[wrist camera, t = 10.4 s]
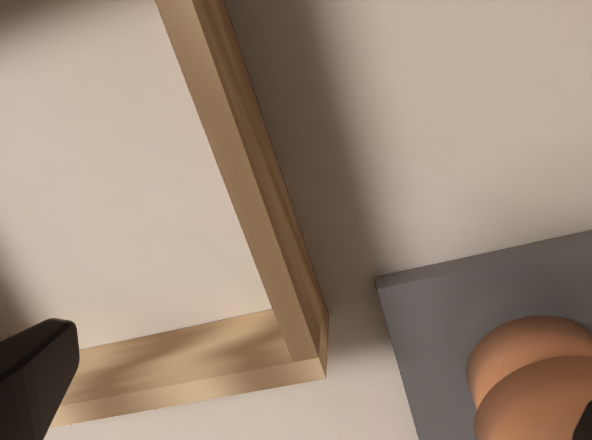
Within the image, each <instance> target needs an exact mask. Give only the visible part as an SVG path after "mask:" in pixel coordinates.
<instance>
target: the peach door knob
mask: <svg viewBox="0 0 592 440" xmlns="http://www.w3.org/2000/svg"><path fill="white" fill-rule="evenodd" d="M466 378H467V383H468V386H469V389H470V392H471V395H472V398H473V401H474V404H475V407H476V410H477V412H476V415H475V420H474V435H475V440H572V436H573V432H574V429H575V427H576V425H577V423H578V421H579V419H580V417H581V415H582V413H583V411H584V409H585V407H586V405H587V404H588V402H589V401H591V400H592V334H591V333H590V332H589V331H588V330H587V329H586V328H584V327H583V326H581V325H579V324H578V323H576V322H573V321H571V320H569V319H565V318H561V317H556V316H547V315H538V316H528V317H522V318H518V319H515V320H512V321H509V322H507V323H504V324H502V325H500V326H498V327H496V328H495V329H493V330H492V331H490V332H489V333H488V334H487V335H485V336H484V337H483V338H482V339H481V340H480V341H479V342H478V343H477V345H476V346H475V347H474V349H473V350H472V352H471V354H470V356H469V359H468V362H467V367H466Z"/></svg>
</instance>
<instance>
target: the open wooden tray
mask: <svg viewBox="0 0 592 440" xmlns="http://www.w3.org/2000/svg"><path fill="white" fill-rule="evenodd" d="M155 2H156V5H157V7H158V10H159V12H160V15H161V18H162V20H163V23H164V26H165V28H166V31H167V33H168V36H169V39H170V41H171V44H172V46H173V49H174V52H175V54H176V57H177V60H178V62H179V65H180V67H181V70H182V73H183V75H184V78H185V81H186V83H187V86H188V88H189V91H190V94H191V96H192V99H193V102H194V104H195V107H196V109H197V112H198V115H199V117H200V120H201V123H202V125H203V128H204V130H205V133H206V136H207V138H208V141H209V144H210V146H211V149H212V151H213V154H214V157H215V159H216V162H217V165H218V167H219V170H220V172H221V175H222V178H223V180H224V183H225V186H226V188H227V191H228V193H229V196H230V199H231V201H232V204H233V207H234V209H235V212H236V214H237V217H238V220H239V222H240V225H241V228H242V230H243V233H244V235H245V238H246V241H247V243H248V246H249V249H250V251H251V254H252V256H253V259H254V262H255V264H256V267H257V270H258V272H259V275H260V277H261V280H262V283H263V285H264V288H265V290H266V293H267V296H268V298H269V301H270V304H271V306H272V310H267V311H262V312H257V313H253V314H248V315H243V316H239V317H234V318H229V319H225V320H220V321H215V322H211V323H206V324H201V325H196V326H192V327H187V328H182V329H178V330H173V331H168V332H164V333H159V334H154V335H150V336H145V337H140V338H135V339H131V340H126V341H121V342H117V343H112V344H107V345H103V346H98V347H93V348H88V349H84V350H79V354H80V361H79V366H78V369H77V371H76V374H75V376H74V378H73V380H72V382H71V384H70V386H69V388H68V390H67V392H66V394H65V396H64V398H63V400H62V402H61V404H60V406H59V408H58V410H57V412H56V414H55V416H54V419H53V421H52V423H51V425H50V427H49V428H51V427H57V426H62V425H68V424H74V423H79V422H85V421H90V420H96V419H102V418H107V417H113V416H118V415H124V414H130V413H135V412H141V411H146V410H152V409H158V408H163V407H169V406H175V405H180V404H186V403H191V402H197V401H203V400H208V399H214V398H219V397H225V396H231V395H236V394H242V393H247V392H253V391H259V390H264V389H270V388H276V387H281V386H287V385H292V384H298V383H304V382H309V381H315V380H320V379H326V368H327V347H328V326H329V316H328V313H327V310H326V307H325V304H324V300H323V297H322V294H321V291H320V288H319V285H318V282H317V279H316V276H315V273H314V270H313V267H312V264H311V261H310V258H309V255H308V252H307V249H306V246H305V243H304V240H303V237H302V234H301V231H300V228H299V225H298V222H297V219H296V216H295V213H294V210H293V207H292V204H291V201H290V198H289V195H288V192H287V189H286V186H285V183H284V180H283V177H282V174H281V171H280V168H279V165H278V162H277V159H276V156H275V153H274V150H273V147H272V144H271V141H270V138H269V135H268V132H267V129H266V126H265V123H264V120H263V117H262V114H261V111H260V108H259V105H258V102H257V99H256V96H255V93H254V90H253V87H252V84H251V81H250V78H249V75H248V72H247V69H246V66H245V63H244V60H243V57H242V54H241V51H240V48H239V45H238V42H237V39H236V36H235V33H234V30H233V27H232V24H231V21H230V18H229V14H228V11H227V8H226V5H225V2H224V0H155Z"/></svg>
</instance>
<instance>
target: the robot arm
mask: <svg viewBox="0 0 592 440" xmlns="http://www.w3.org/2000/svg"><path fill="white" fill-rule="evenodd" d="M79 361H80V354H79V345H78V336H77V328H76V325H75V323H74V322H72V321H70V320H63V319H56V318H51V319H47V320H45V321H43V322H41V323H39V324H36V325H34V326H32V327H30V328H28V329H26V330H24V331H22V332H19V333H17V334H15V335H13V336H11V337H9V338H7V339H4V340H2V341H0V440H43V439H44V437H45V435H46V433H47V431H48V429H49V427H50V425H51V423H52V421H53V419H54V416H55V414H56V412H57V410H58V408H59V406H60V404H61V402H62V400H63V398H64V396H65V394H66V392H67V390H68V388H69V386H70V384H71V382H72V380H73V378H74V376H75V374H76V371H77V369H78V366H79ZM572 440H592V400H591V401H589V402H588V404H587V405H586V407H585V409H584V411H583V413H582V415H581V417H580V419H579V421H578V423H577V425H576V427H575V429H574V432H573V436H572Z"/></svg>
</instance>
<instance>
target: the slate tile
mask: <svg viewBox="0 0 592 440" xmlns="http://www.w3.org/2000/svg"><path fill="white" fill-rule="evenodd" d="M375 279H376V287H377V292H378V296H379V299H380V303H381V306H382V310H383V313H384V317H385V320H386V324H387V328H388V331H389V335H390V338H391V342H392V345H393V349H394V352H395V356H396V360H397V363H398V367H399V370H400V374H401V377H402V381H403V384H404V388H405V392H406V395H407V399H408V402H409V406H410V409H411V413H412V416H413V420H414V424H415V427H416V431H417V434H418V438H419V440H475V435H474V420H475V415H476V412H477V410H476V407H475V404H474V401H473V398H472V395H471V392H470V389H469V386H468V383H467V378H466V367H467V362H468V359H469V356H470V354H471V352H472V350H473V349H474V347H475V346H476V345H477V343H478V342H479V341H480V340H481V339H482V338H483V337H484V336H485V335H487V334H488V333H489V332H490V331H492V330H493V329H495V328H496V327H498V326H500V325H502V324H504V323H507V322H509V321H512V320H515V319H518V318H522V317H528V316H538V315H547V316H556V317H561V318H565V319H569V320H571V321H573V322H576V323H578V324H579V325H581V326H583V327H584V328H586V329H587V330H588V331H589V332H590V333H591V334H592V230H590V231H585V232H581V233H576V234H572V235H567V236H562V237H558V238H553V239H549V240H544V241H539V242H535V243H530V244H526V245H521V246H516V247H512V248H507V249H503V250H498V251H493V252H489V253H484V254H480V255H475V256H470V257H466V258H461V259H457V260H452V261H447V262H443V263H438V264H434V265H429V266H424V267H420V268H415V269H411V270H406V271H401V272H397V273H392V274H388V275H383V276H378V277H375Z"/></svg>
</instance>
